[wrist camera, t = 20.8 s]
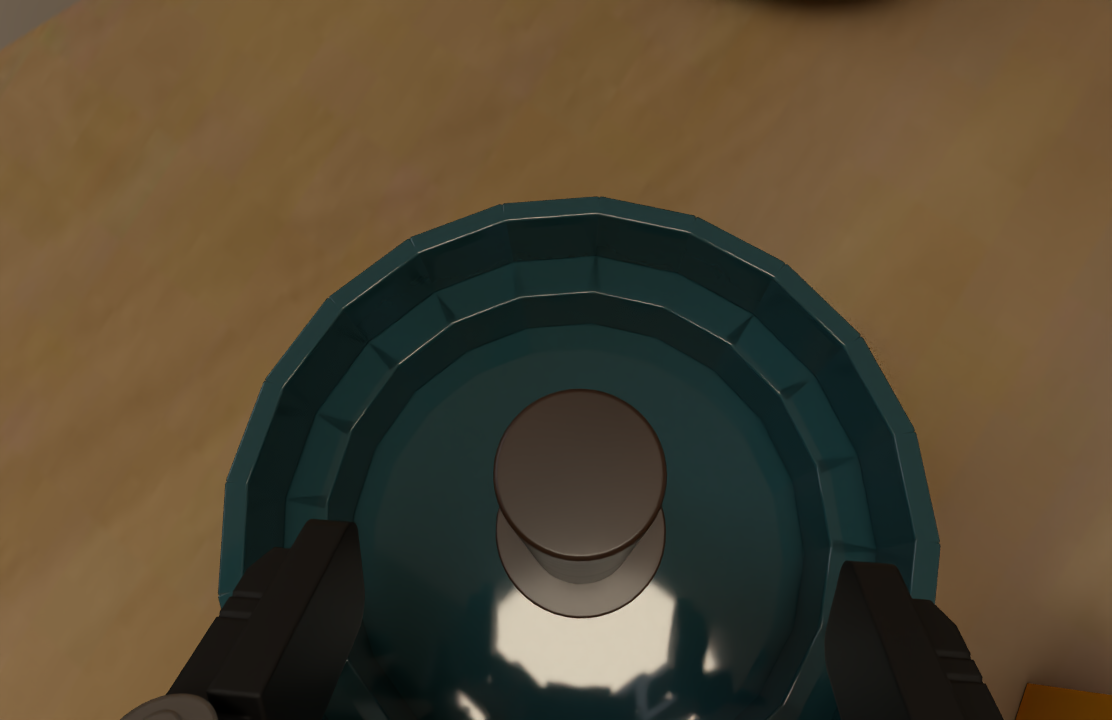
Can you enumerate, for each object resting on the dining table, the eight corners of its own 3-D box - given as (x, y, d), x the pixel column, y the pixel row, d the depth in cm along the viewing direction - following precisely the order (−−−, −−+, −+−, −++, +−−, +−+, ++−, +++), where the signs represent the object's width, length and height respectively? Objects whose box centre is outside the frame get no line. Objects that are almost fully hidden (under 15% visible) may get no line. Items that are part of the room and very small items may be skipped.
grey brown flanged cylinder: (688, 510, 24) (770, 427, 13) (607, 651, 23) (628, 679, 12) (556, 429, 25) (538, 293, 14) (471, 560, 24) (385, 515, 13)
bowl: (943, 449, 25) (1049, 399, 19) (680, 990, 21) (718, 1131, 15) (498, 204, 28) (477, 100, 23) (192, 627, 24) (71, 630, 18)
